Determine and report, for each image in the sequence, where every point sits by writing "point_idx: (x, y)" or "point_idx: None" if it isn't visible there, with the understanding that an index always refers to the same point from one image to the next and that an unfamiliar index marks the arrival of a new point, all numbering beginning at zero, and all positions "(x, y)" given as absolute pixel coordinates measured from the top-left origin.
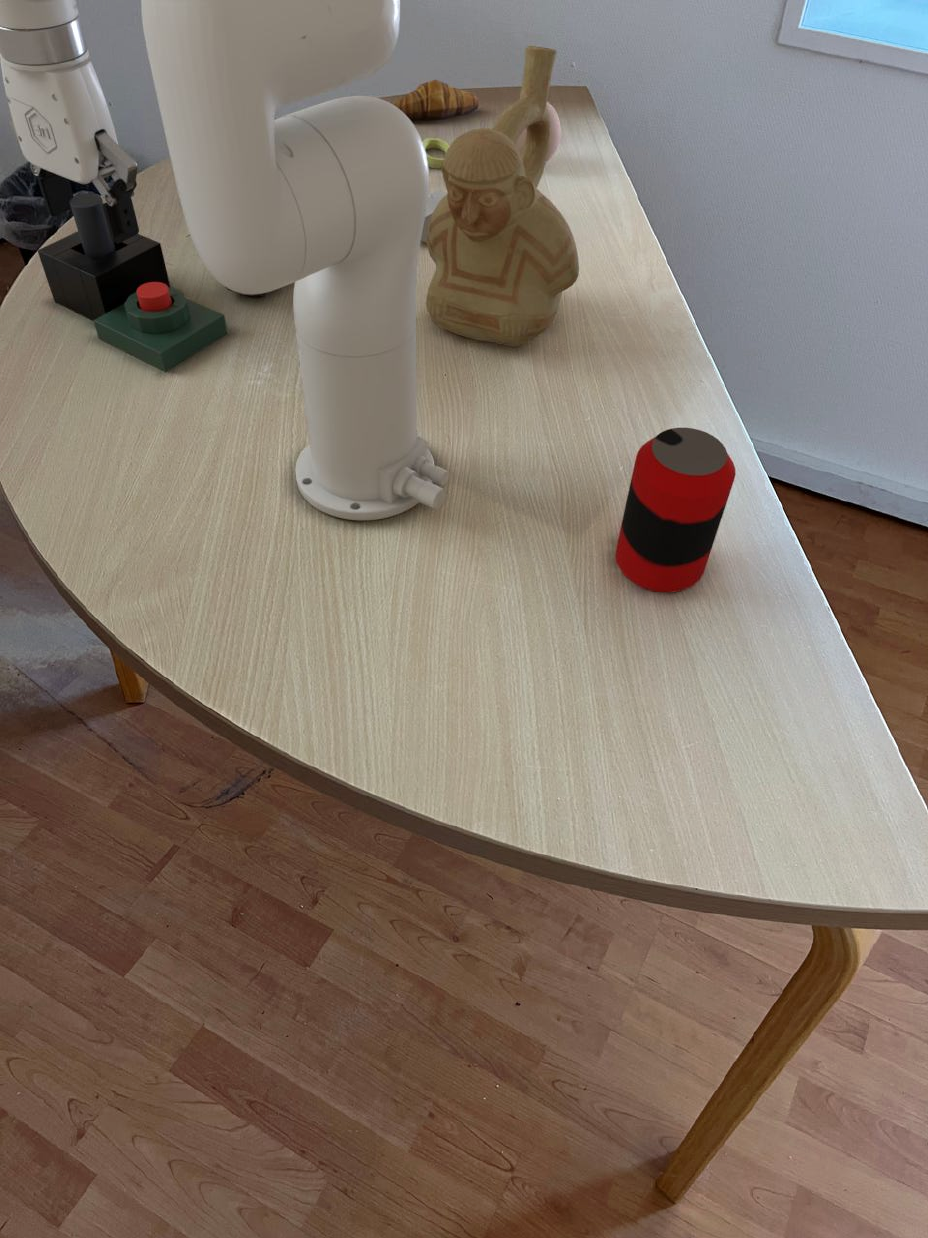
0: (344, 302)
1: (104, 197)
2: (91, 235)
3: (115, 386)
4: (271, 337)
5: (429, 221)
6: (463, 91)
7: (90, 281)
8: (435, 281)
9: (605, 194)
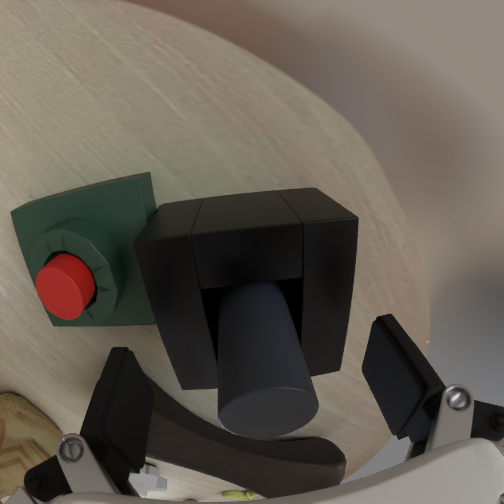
0: None
1: (86, 454)
2: (226, 335)
3: (38, 129)
4: (42, 330)
5: (129, 473)
6: None
7: (159, 230)
8: (9, 423)
9: None
